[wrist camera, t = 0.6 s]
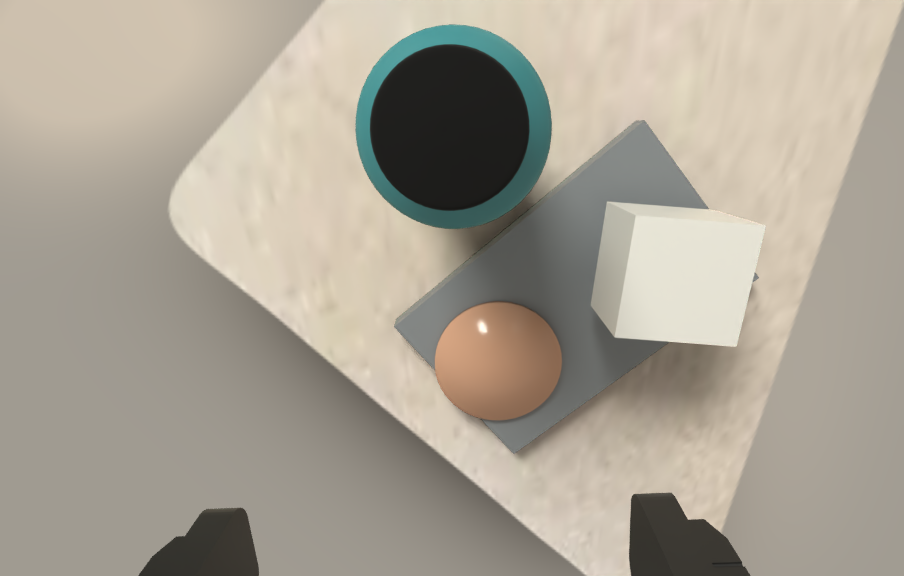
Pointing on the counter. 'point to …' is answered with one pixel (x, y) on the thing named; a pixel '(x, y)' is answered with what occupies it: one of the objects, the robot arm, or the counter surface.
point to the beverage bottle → (453, 126)
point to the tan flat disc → (498, 360)
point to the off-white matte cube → (675, 273)
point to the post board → (560, 275)
